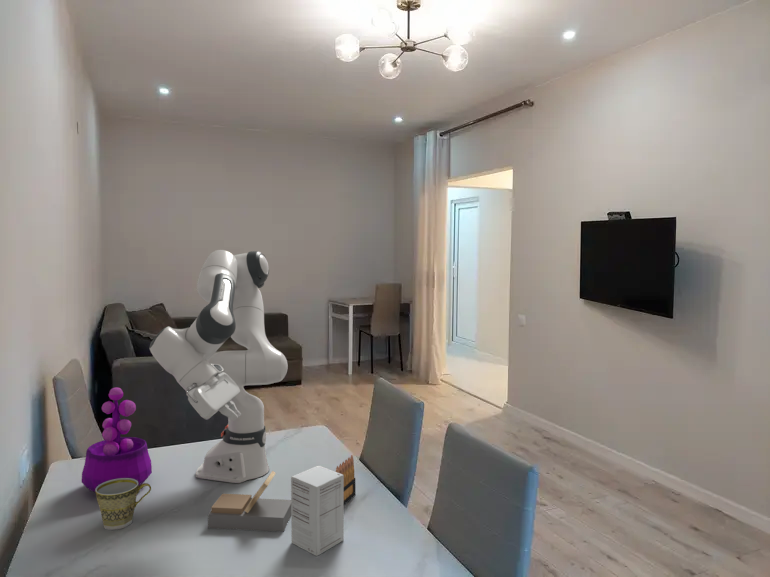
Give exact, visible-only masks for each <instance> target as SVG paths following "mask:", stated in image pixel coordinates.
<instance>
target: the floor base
mask: <svg viewBox="0 0 770 577" xmlns="http://www.w3.org/2000/svg"><path fill="white" fill-rule="evenodd" d="M252 498H253V496H252V494H243V493H242V494H241V493H240V494H239V493H222V494H221V495H220V496H219V497H218V499H217V500H216V501H215V502H214V503H213V505H212V506H210V509H211V510H210V511H209V512H208V514H207V528H208V529H217V530H218V529H219V530H220V529H221V530H242V531H260V532H262V531H263V532H280V533H281V532H282V533H283V532H284V531H285V530H286V528H287V526H288V524H287V523H289V522H288V521H290V520H291V499H280V498H278V499H277V498H260V497H259V498H258V500H257V501H256V503H255V504H254V505H253V507H252V508H251V509H250V511H249V512H248V513H247V512H245V511H244V510H245V509H246V507H247V506H248V504H249V503H250V501H251V500H252Z"/></svg>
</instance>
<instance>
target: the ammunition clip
mask: <svg viewBox="0 0 770 577" xmlns="http://www.w3.org/2000/svg"><path fill="white" fill-rule="evenodd" d="M354 461H355V460H354V456H353V454H351V455H350V456H348V458H347V459H345V460H344V461H342V463H339V464H338V465H337V466H336V468H335V472H337V473H340V474H343V475H344V506H345V505H347V503H349V501H351V500H352V499H353V498H354V497H355V496H356V495H357V494H356V477H355V462H354Z"/></svg>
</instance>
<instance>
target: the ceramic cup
mask: <svg viewBox="0 0 770 577" xmlns="http://www.w3.org/2000/svg"><path fill="white" fill-rule="evenodd" d="M138 484H139V483H138V481H137V480H135V479H131V478H119V479H113V480H109V481H106V482H104V483H102V484H100V485H98V486H97V487H96V489H95V496H96V501H97V504H98V507H99V511H100V515H101V520H102V523H103V524H102V525H103V528H104V529H106V530H110V531H115V530H120V529H125V528H126V527H128V526H130V525H131V524H132V523H133V517H134V513H135V508H137V506H138V504H140V503H141V502H142V500H143V499H144V498H145V497H146V496H147V495H148V494H150V493H151V491H152V487H151V484H149V483H148V482H147V483H146V482H144V483H142V484H140V485H138ZM145 487H148V488H149V489H148V491H147V492H146V493H145V494H144V495H142V496H141V497H140V499H139V500H137V496H138V494H139V492H140V490H141V489H142V488H145ZM136 500H137V501H136Z"/></svg>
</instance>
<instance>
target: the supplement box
mask: <svg viewBox="0 0 770 577" xmlns="http://www.w3.org/2000/svg"><path fill="white" fill-rule="evenodd" d="M290 488H291V489H290V492H291V493H290V498H291V499H290V500H291V517H290V520H291V522H290V523H291V526H290V528H291V534H290V535H291V544H293V545H295V546H296V547H299V548H300V549H302V550H304V551H306V552H308V553H310V554H312V555H313V556H315V557H318V556H319V555H321V554H323V553H324V552H326V551H328V550H329V549H331V548H333V547H334V546H337V545H338V544H340V543H341V542H343V541H344V538H345V537H344V534H345V533H344V523H345V522H344V521H345V520H344V518H345V517H344V514H345V513H344V509H345V508H344V506H345V505H344V475H343V474H340V473H337V472H336V470H335V471H334V470H331V469H330V468H327V467H323V466H322V465H316V466H313V467H311V468H309V469H306V470H303V471H301V472H300V473H297V474H294V475H292V476H291V477H290Z"/></svg>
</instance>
